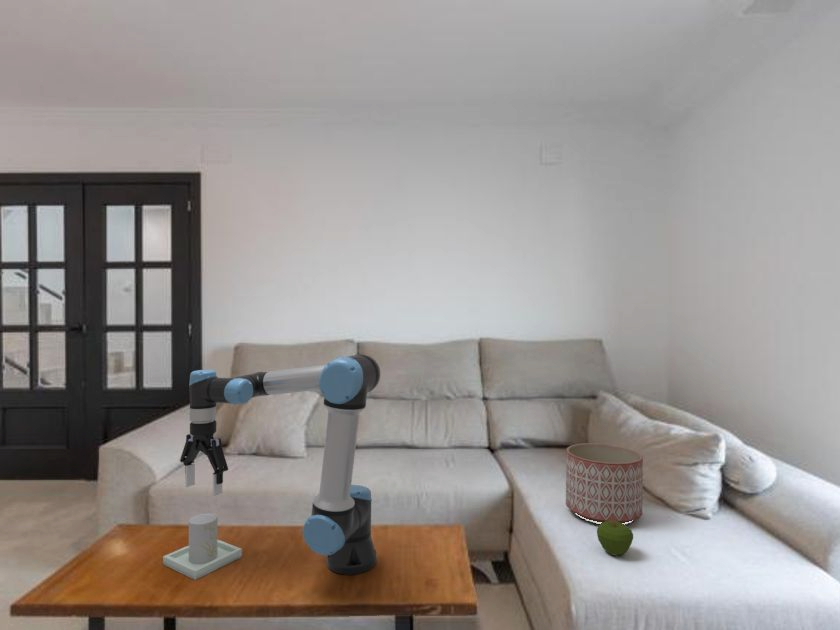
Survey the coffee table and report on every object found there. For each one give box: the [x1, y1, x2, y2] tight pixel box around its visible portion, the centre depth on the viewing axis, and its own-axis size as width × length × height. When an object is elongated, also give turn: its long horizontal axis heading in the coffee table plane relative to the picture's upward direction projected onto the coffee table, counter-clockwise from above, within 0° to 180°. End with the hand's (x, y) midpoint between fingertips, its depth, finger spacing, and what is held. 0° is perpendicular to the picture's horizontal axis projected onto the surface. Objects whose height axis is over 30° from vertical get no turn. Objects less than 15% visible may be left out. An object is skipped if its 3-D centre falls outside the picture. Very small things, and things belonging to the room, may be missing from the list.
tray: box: [162, 538, 243, 581], centre depth 155 cm, size 16×16×2 cm
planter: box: [565, 442, 644, 523], centre depth 192 cm, size 27×27×24 cm
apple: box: [596, 521, 634, 556], centre depth 161 cm, size 11×10×10 cm
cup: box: [188, 512, 219, 564], centre depth 155 cm, size 8×8×12 cm
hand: (203, 489), depth 154 cm, fingers open, 13 cm apart
